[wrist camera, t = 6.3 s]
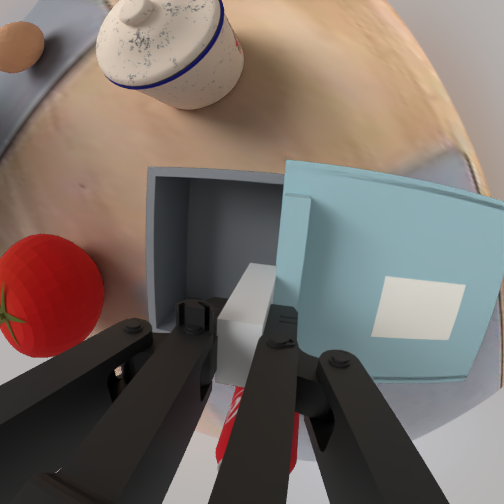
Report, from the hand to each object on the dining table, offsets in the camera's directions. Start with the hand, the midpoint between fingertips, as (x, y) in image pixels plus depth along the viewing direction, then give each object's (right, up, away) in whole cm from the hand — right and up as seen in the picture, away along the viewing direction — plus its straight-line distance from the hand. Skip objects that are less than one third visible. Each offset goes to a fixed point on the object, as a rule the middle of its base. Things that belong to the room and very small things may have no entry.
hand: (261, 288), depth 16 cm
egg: (-28, +27, +8) cm, 40 cm away
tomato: (-19, -1, +13) cm, 23 cm away
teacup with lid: (-6, +19, +6) cm, 21 cm away
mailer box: (+1, +2, +9) cm, 10 cm away
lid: (+9, 0, +3) cm, 9 cm away
